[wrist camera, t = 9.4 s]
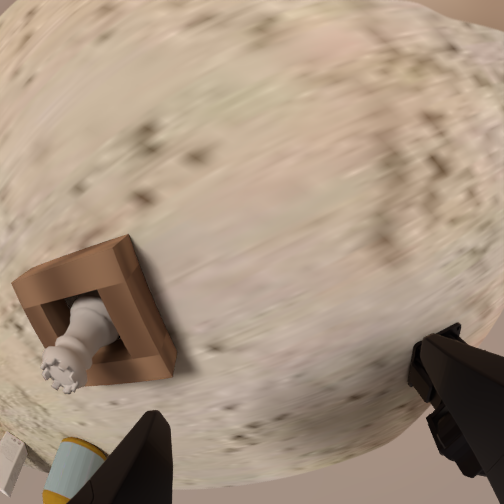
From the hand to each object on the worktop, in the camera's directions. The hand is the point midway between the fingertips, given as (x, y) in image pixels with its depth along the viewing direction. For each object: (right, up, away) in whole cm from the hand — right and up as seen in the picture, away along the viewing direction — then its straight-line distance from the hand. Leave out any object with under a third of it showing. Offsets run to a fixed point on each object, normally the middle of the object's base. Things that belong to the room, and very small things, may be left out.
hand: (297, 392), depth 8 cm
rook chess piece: (-13, 0, +12) cm, 18 cm away
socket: (-13, 0, +12) cm, 18 cm away
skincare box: (-43, -29, +19) cm, 55 cm away
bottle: (-24, -23, +18) cm, 38 cm away
